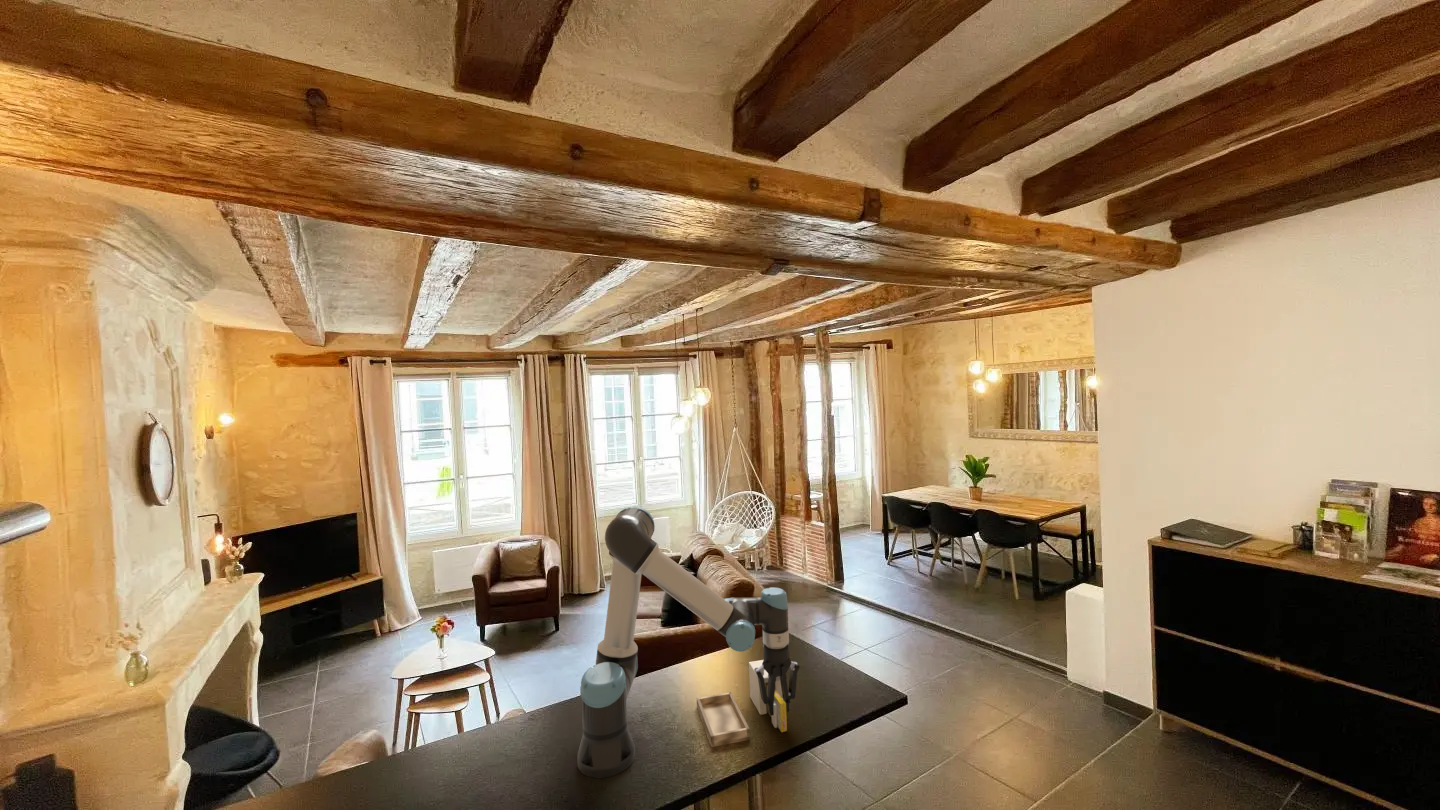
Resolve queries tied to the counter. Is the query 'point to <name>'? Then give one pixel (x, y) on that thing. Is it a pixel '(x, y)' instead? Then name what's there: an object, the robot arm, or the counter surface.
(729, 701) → the tray
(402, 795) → the counter surface
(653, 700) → the counter surface
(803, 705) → the counter surface
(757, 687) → the white box
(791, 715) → the counter surface
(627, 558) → the robot arm
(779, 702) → the candy box
